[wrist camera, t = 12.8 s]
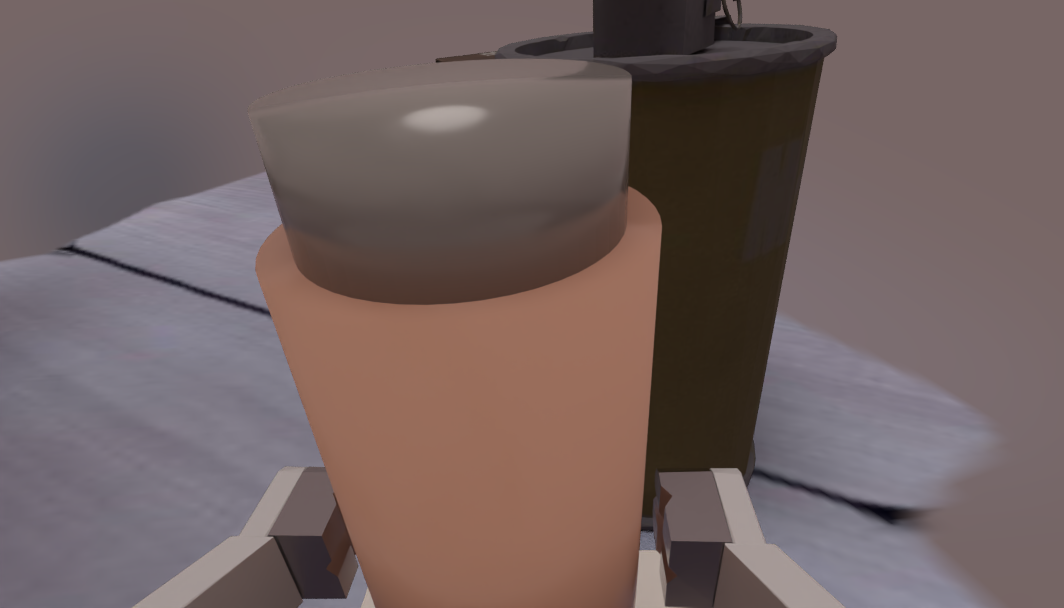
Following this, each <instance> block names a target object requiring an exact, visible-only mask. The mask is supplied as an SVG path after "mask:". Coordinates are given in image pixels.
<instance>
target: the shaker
mask: <svg viewBox="0 0 1064 608" xmlns="http://www.w3.org/2000/svg"><path fill="white" fill-rule="evenodd" d="M631 91H632V77H631V74H630V73H629V72H628V71H626V70H624V69H622V68H619V67H615V66H612V65H607V64H602V63H595V62H588V61H578V60H563V59H487V60H468V61H452V62H440V63H430V64H418V65H409V66H400V67H393V68H385V69H377V70H370V71H363V72H357V73H352V74H345V75H340V76H334V77H329V78H324V79H320V80H315V81H310V82H307V83H303V84H298V85H295V86H291V87H288V88H284V89H281V90H278V91H276V92H272V93H270V94H267V95H265V96H263V97H261V98H259V99H257V100H256V101H254V102H252V104H250V106H249V107H248V111H247V112H248V115H249V118H250V121H251V124H252V128H253V131H254V134H255V137H256V140H257V144H258V147H259V150H260V153H261V156H262V160H263V163H264V166H265V169H266V173H267V176H268V179H269V182H270V185H271V189H272V192H273V195H274V198H275V201H276V205H277V208H278V211H279V214H280V217H281V221H282V224H281V225H280V226H279V227H278V228H277V229H276V230H275V231H274V232H273V233H272V234H270V235H269V236H268V238H267V239H266V240H265V242H264V243H263V245H262V246H261V247H260V250H259V252H258V255H257V257H256V267H255V270H256V274H257V277H258V280H259V283H260V286H261V289H262V291H263V294H264V297H265V300H266V303H267V305H268V308H269V311H270V314H271V317H272V319H273V322H274V325H275V328H276V331H277V333H278V336H279V339H280V342H281V345H282V347H283V350H284V353H285V356H286V359H287V361H288V364H289V367H290V370H291V373H292V376H293V378H294V381H295V384H296V387H297V390H298V392H299V395H300V398H301V401H302V404H303V406H304V409H305V412H306V415H307V418H308V420H309V423H310V426H311V429H312V432H313V434H314V437H315V440H316V443H317V446H318V448H319V451H320V454H321V457H322V460H323V462H324V465H325V468H326V471H327V474H328V477H329V479H330V482H331V485H332V488H333V491H334V493H335V496H336V499H337V502H338V505H339V507H340V510H341V513H342V516H343V519H344V521H345V524H346V527H347V530H348V533H349V535H350V538H351V541H352V544H353V547H354V549H355V552H356V555H357V558H358V561H359V563H360V566H361V569H362V572H363V575H364V578H365V580H366V583H367V586H368V589H369V592H370V594H371V597H372V600H373V603H374V606H375V608H635V605H636V591H637V577H638V562H639V548H640V534H641V519H642V505H643V491H644V476H645V462H646V448H647V433H648V419H649V405H650V391H651V376H652V362H653V348H654V333H655V319H656V305H657V290H658V276H659V262H660V247H661V233H662V224H661V218H660V215H659V213H658V211H657V209H656V208H655V206H654V205H653V204H652V203H651V202H650V201H649V200H648V199H647V198H646V197H645V196H644V195H642V194H641V193H639V192H638V191H637V190H635V189H633V188H631V187H629V186H628V178H629V149H630V120H631Z"/></svg>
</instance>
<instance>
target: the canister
mask: <svg viewBox="0 0 1064 608" xmlns="http://www.w3.org/2000/svg"><path fill="white" fill-rule="evenodd" d="M721 1H722V5H723V10H724V13H725V15H726V16H715V12H717V11H720V9H721ZM733 1H736V0H733ZM737 8H738V24H734V23H733V21H732V19H731V15H729V12H728V9H727V5H726V0H593V32H584V33H574V34H566V35H557V36H550V37H542V38H537V39H531V40H526V41H522V42H516V43H511V44H508V45H506V46H504V47H501V48H499V50H498V51H497V52H496V54H495V59H563V60H578V61H588V62H595V63H602V64H607V65H612V66H615V67H619V68H622V69H624V70H626V71H628V72H629V73H630V74H631V77H632V91H631V120H630V149H629V178H628V186H629V187H631V188H633V189H635V190H637V191H638V192H639V193H641V194H642V195H644V196H645V197H646V198H647V199H648V200H649V201H650V202H651V203H652V204H653V205H654V206H655V208H656V209H657V211H658V213H659V215H660V218H661V224H662V233H661V247H660V262H659V276H658V290H657V305H656V319H655V333H654V348H653V362H652V376H651V391H650V405H649V419H648V433H647V448H646V462H645V476H644V491H643V505H642V519H641V529H642V530H653V499H654V498H655V497H656V490H655V483H654V481H655V472H656V469H664V468H708V469H710V468H737V469H738V470H739V471H740V472H741V474H742V477H743V479H744V482H745V485H746V487H747V486H748V484H749V481H750V478H751V475H752V472H753V470H754V466H755V448H754V441H753V435H754V430H755V424H756V419H757V414H758V408H759V403H760V398H761V392H762V387H763V382H764V376H765V371H766V366H767V360H768V355H769V350H770V344H771V339H772V333H773V328H774V323H775V317H776V312H777V307H778V301H779V296H780V291H781V285H782V280H783V274H784V269H785V264H786V259H787V253H788V248H789V242H790V237H791V232H792V226H793V221H794V216H795V210H796V205H797V200H798V195H799V189H800V184H801V178H802V173H803V168H804V162H805V157H806V152H807V146H808V141H809V135H810V130H811V124H812V120H813V114H814V108H815V103H816V98H817V93H818V88H819V82H820V77H821V72H822V66H823V61H824V57H826V56H828V55H829V54H830V53H832V52H833V51H834V50H835V49H836V43H837V35H836V34H835V33H834V32H833V31H831V30H830V29H824V28H818V27H811V26H804V25H781V24H741V23H742V8H741V1H740V0H737Z"/></svg>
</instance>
